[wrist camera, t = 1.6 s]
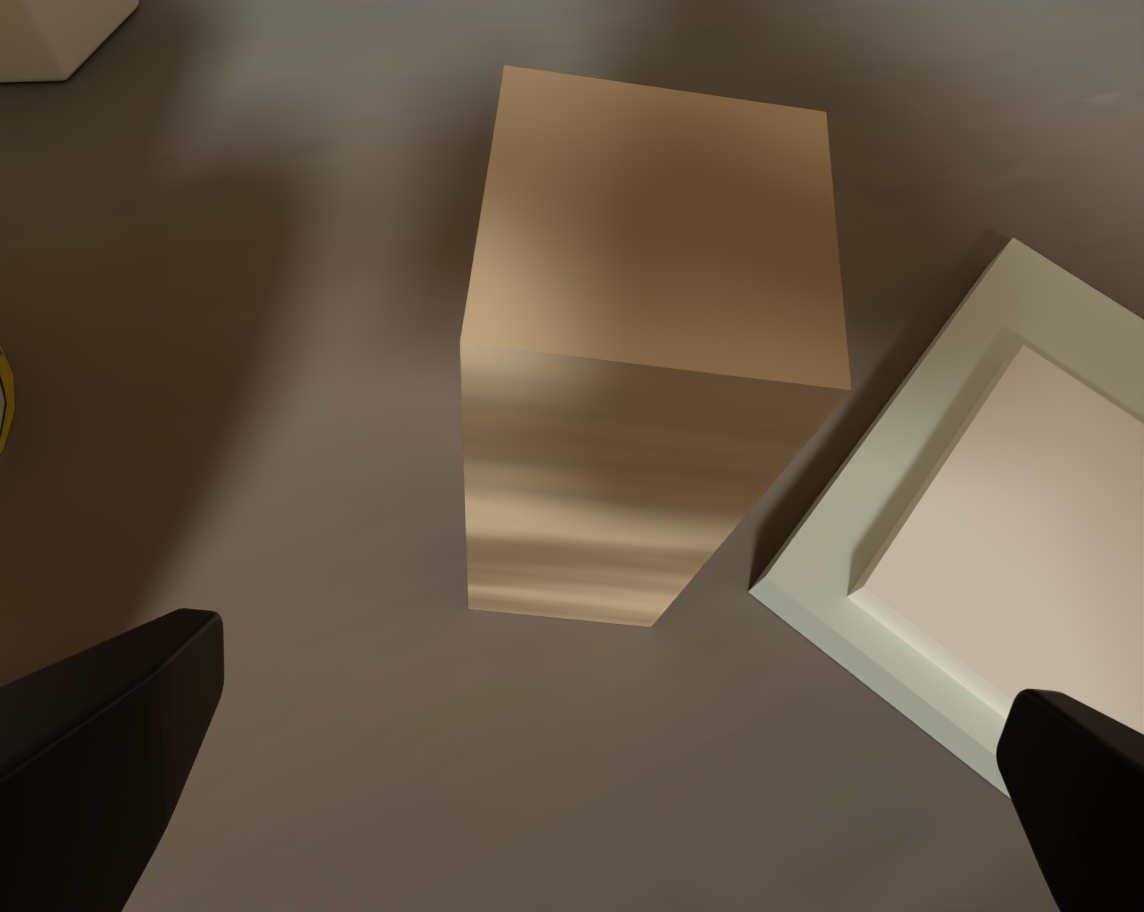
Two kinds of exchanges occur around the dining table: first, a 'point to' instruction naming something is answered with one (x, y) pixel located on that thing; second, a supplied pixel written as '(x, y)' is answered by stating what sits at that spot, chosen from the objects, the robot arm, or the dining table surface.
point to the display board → (989, 518)
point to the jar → (54, 35)
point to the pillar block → (639, 337)
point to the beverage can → (5, 399)
